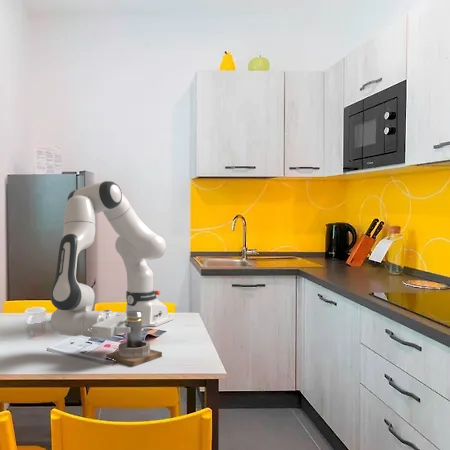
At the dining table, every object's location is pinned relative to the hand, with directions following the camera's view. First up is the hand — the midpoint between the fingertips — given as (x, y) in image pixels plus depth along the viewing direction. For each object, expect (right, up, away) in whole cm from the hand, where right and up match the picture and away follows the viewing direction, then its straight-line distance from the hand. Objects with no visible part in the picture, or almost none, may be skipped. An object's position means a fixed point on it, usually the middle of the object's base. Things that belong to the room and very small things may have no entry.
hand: (135, 326), depth 168 cm
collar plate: (-1, -11, +1) cm, 11 cm away
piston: (-1, -9, +1) cm, 9 cm away
